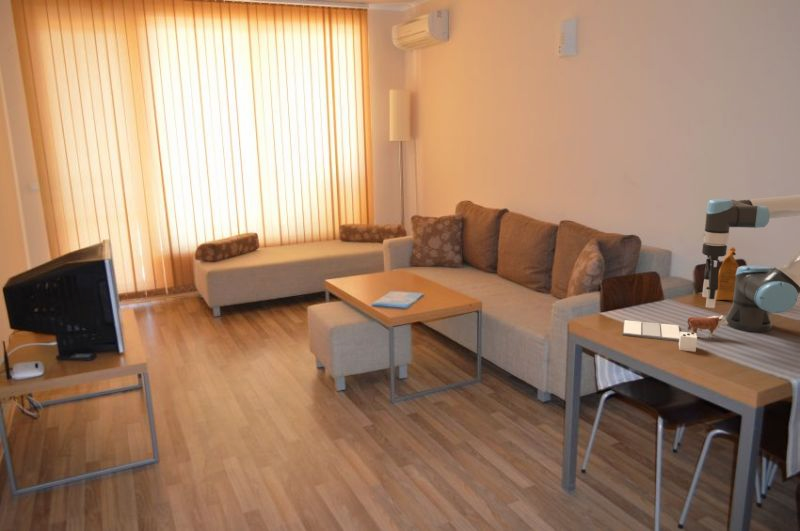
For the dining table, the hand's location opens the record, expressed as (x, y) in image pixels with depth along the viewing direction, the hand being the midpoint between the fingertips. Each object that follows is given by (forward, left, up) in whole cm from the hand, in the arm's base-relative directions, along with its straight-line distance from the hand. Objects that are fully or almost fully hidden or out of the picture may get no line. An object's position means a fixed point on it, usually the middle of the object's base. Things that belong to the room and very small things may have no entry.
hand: (708, 302), depth 216 cm
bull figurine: (0, 0, -13) cm, 13 cm away
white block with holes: (+7, +15, -13) cm, 21 cm away
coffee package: (-13, -56, -13) cm, 59 cm away
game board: (+18, 0, -13) cm, 22 cm away
